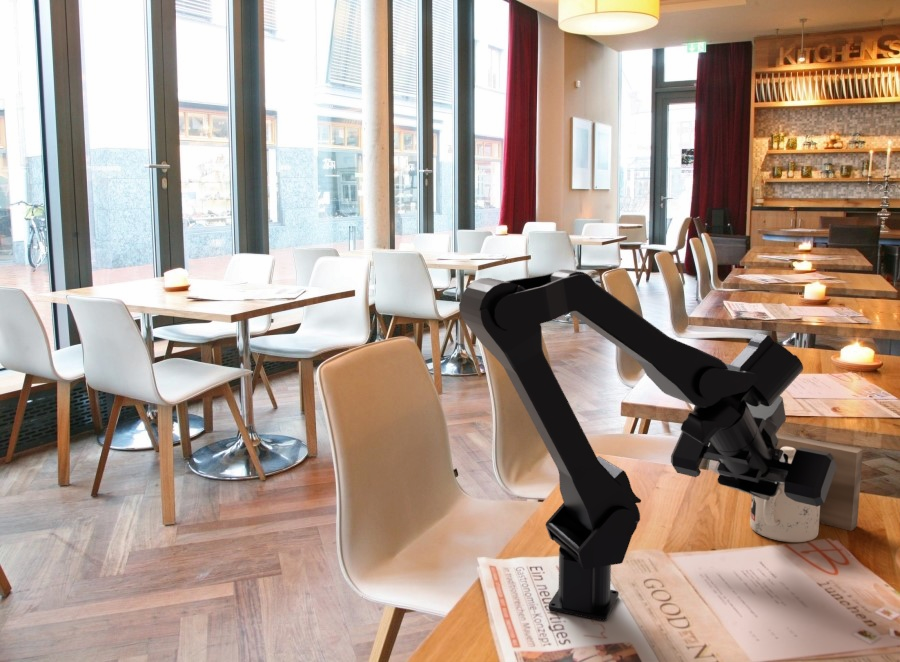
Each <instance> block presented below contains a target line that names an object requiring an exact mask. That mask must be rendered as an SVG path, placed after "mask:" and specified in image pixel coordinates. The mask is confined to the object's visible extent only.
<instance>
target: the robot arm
mask: <svg viewBox="0 0 900 662" xmlns="http://www.w3.org/2000/svg"><path fill="white" fill-rule="evenodd" d="M458 307H459V308H458V309H459V314H460V317H461V318H462V320H463V322H464V323H465V324H466V326H467V327H468V329H469V330H470V331H471V332H472V333H473V335H474V336H475V337H476V338H477V339H478V341H479V342H480V343H481V344H482V345H483V347H484V348H485V349H486V350H487V351H488V352H489V353H490V354H491V355H492V356H493V357H494V358H495V359H496V360H497V361H498V363H500V365H501V366H502V367H503V368H504V371H505V372H506V374H507V376H508V378H509V380H510V382H511V384H512V386H513V387H514V389H515V391H516V393H517V395H518V397H519V399H520V401H521V402H522V404H523V406H524V408H525V410H526V411H527V414H528V416H529V417H530V419H531V421H532V423H533V425H534V427H535V429H536V431H537V432H538V435H539V437H540V439H541V440H542V442H543V444H544V446H545V447H546V449H547V451H548V453H549V455H550V457H551V459H552V461H553V462H554V464H555V467H556V468H557V470H558V474H559V475H558V477H559V479H558V481H559V491H560V494H561V498H562V501H563V503H561V505H560V506H559V508H557V510H555V512H553V514H552V515H551V516H550V517H549V518H548V520H547V521H546V522H545V528H546V531H547V534H548V537H549V538H550V539H551V540H552V541H554V542H555V543H556V544H558V546H559V548H558V589H557V590H556V592H555V594H554V595H553V597H552V598H551V599H550V601H549V603H548V609H549V610H550V611H553V612H559V613H563V614H569V615H573V616H577V617H578V616H579V617H583V618H588V619H594V620H599V621H607V620H608V618H609V616H610V615H611V613H612V611H613V609H614V607H615V604H616V602H617V601H618V599H619V596H620V595H619V591H617V590H615V589H611V585H612V582H611V580H612V578H611V577H612V576H611V574H612V573H611V572H612V566H613V565H622V563H623V562H624V559H625V557H626V554H627V552H628V549H629V545H630V543H631V539H632V537H633V535H634V533H635V532H636V530H637V528H638V524H639V522H640V521H641V513H640V510H639V507H638V505H637V504H641V502H642V499H641V498H640V497H638V496H637V495H636V494H635V492H634V490H633V489H632V486H631V482H630V478H629V476H628V475H627V473H626V471H625V470H624V469H622V468H620V467H618V466H617V465H615V464H613V463H612V462H610V461H608V460H606V459H605V458H603V457H602V456H600V455H598V456H597V455H596V453H595V451H594V449H593V447H592V445H591V443H590V442H589V440H588V437H587V435H586V433H585V432H584V430H583V428H582V426H581V424H580V422H579V419H578V417H577V416H576V414H575V411H574V410H573V408H572V406H571V404H570V402H569V401H568V398H567V396H566V394H565V393H564V391H563V389H562V387H561V385H560V382H559V380H558V379H557V377H556V375H555V373H554V371H553V370H552V367H551V366H550V363H549V361H548V360H547V359H548V358H546V356H545V354H544V353H545V352H544V350H543V349H544V348H543V332H542V330H543V329H542V325H541V324H544V323H548V322H551V321H554V320H555V319H558V318H560V317H562V316H564V315H566V314H568V313H570V314H571V315H572V316H574V317H575V318H576V319H578V320H579V321H580V322H582V323H583V324H585V325H587V326H588V327H589V328H591V329H592V330H593V331H595V332H596V333H597V334H600V336H602V337H604V339H606V340H607V341H608V342H610V343H612V344H613V345H614V346H616V347H617V348H618V349H620V350H621V351H623V352H625V354H628V355H629V356H630V357H632V358H633V359H634V360H635V361H636V362H637V363H638V364H639V365H640V366H641V368H642V369H643V371H644V373H645V374H646V376H647V377H648V378H649V379H650V380H651V381H652V382H653V383H654V384H655V385H656V386H657V388H658V389H659V390H661V392H662V393H663V394H665V395H667V396H669V397H672V398H675V399H677V400H679V401H682V402H685V403H686V404H690V405H693V406H694V407H693V410H692V411H691V412H689V413H688V415H687V417H685V419H684V420H683V422H682V424H681V426H680V431H681V432H680V434H679V437H678V439H677V441H676V444H675V446H674V448H673V451H672V453H671V455H670V463H671V466H672V467H673V469H674V470H675V472H676V473H677V474H681V475H683V476H684V475H685V476H688V477H693V478H696V477H699V476H700V474H701V470H700V466H701V464H702V461H703V459H705V460H710V461H715V462H717V463H716V465H715V467H714V469H713V471H714V473H715V474H718V478H717V483H718V484H719V485H721V486H724V487H727V488H730V489H734V490H736V491H739V492H742V493H744V494H745V493H746V494H748V495H750V496H752V495H753V496H756V497H759V498H761V499H765V500H769V499H770V497H773V496H775V495H776V494H777V491H778V489H779V486H780V483H783V484H784V493H785V495H786V496H787V497H788V498H790V499H792V500H794V501H796V502H800V503H805V504H809V505H813V506H817V507H818V506H820V505H822V504H824V502H825V499H826V496H827V493H828V490H829V487H830V485H831V482H832V479H833V476H834V473H835V470H836V467H837V465H836V462H835V460H834V458H833V457H832V455H831V453H829V452H823V451H818V450H813V449H808V448H803V447H800V448H798V449H797V450H796V452H795V455H794V458H793V460H792V463H791V464H790V463H788V455H787V454H785V453H784V452H783V450H780V449H776V447H777V444H778V439H777V437H776V433H778V432H779V430H780V428H781V427H782V425H783V424H784V423H785V422H786V420H787V416H786V411H785V404H784V399H783V396H781V395H782V394H783V393H784V392H785V390H787V388H788V387H789V386H790V385H791V384H792V383H793V382H794V381H795V379H797V378H798V376H799V375H800V374H801V373H802V372H803V370H804V364H803V363H802V360H800V358H799V357H798V355H795V354H793V353H792V352H791V351H790V350H789V349H787V348H786V347H784V346H783V345H781V344H780V343H779V342H776V341H775V340H774V339H773V338H772V337H771V335H769V334H764V333H761V332H760V333H759V332H756V334H755V335H753V337H751V339H750V340H749V341H748V343H747V345H746V347H744V348H743V350H741V352H740V353H739V354H738V355H736V357H735V358H734V359H733V360H732V362H731V363H730V364H729V363H726V362H724V361H723V360H722V359H720V358H718V357H717V356H714V355H712V354H709V353H707V351H703V350H701V349H699V348H696V347H693V346H692V345H688V344H686V343H684V342H682V341H679V340H677V339H675V338H672V337H670V336H668V335H667V334H666V333H664V332H663V331H662V330H660V329H659V328H657V327H656V326H655V325H654V324H653V323H651V322H650V321H648V320H647V319H646V318H644V317H643V316H641V315H640V314H639V313H637V312H636V311H635V310H634V309H631V308H630V307H629V306H627V305H626V304H625V303H623V301H621V300H619V299H618V298H617V297H615V296H614V295H613V294H611V293H610V292H609V291H607V290H606V289H605V288H603V287H602V286H601V285H600V284H597V283H596V282H595V281H594V279H593V278H592V276H590V274H588V273H586V272H584V271H578V270H570V269H558V270H557V271H555V272H551V273H550V272H549V273H547V274H540V275H535V276H529V277H528V276H527V277H523V278H516V279H515V278H514V279H510V280H505V281H504V280H501V279H496V278H492V277H484V278H478V279H476V280H474V281H472V282H471V283H469V285H468V286H467V287H466V288H465V290H464V291H463V293H462V294H461V298H460V302H459V304H458ZM784 476H785V477H784Z"/></svg>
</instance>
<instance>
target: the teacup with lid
mask: <svg viewBox="0 0 900 662" xmlns="http://www.w3.org/2000/svg"><path fill="white" fill-rule="evenodd" d="M780 450H783V452H784V453H785V454H787V455H788V463H790V464H791V463H792V460H793V458H794V455H795V452H796V449H795V448H792V447H782V448H781V449H780ZM784 477H785V476H784ZM750 497H751V499H750V500H751V501H750V518H749V519H750V521H749V525H750V528H751V529H752V530H753V532H755V533H757V534H759V535H760V536H763V537H764V538H767V539H771V540H774V541H779V542H785V543H806V542H810V541H812V540H815V539H816V538H817V537H818V535H819V532H820V531H819V526H820V523H819V516H820V506H818V507H817V506H813V505H809V504H805V503H800V502H796V501H794V500H792V499H790V498H788V497H787V496H786V495H785V493H784V484H783V483H780V486H779V489H778V491H777V494H776V495H775V496H773V497H770V499H769V500H765V499H761V498H759V497H756V496H753V495H751V496H750Z"/></svg>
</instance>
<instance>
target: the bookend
mask: <svg viewBox="0 0 900 662" xmlns="http://www.w3.org/2000/svg"><path fill="white" fill-rule="evenodd" d="M776 437H777V439H778V444H777V447H776V449H781V448H782V447H792V448H795V449H796V450H797V449H798V448H800V447H803V448H808V449H813V450H818V451H823V452H829V453H831V455H832V457H833V458H834V460H835V462H836V465H837V467H836V470H835V473H834V476H833V479H832V482H831V485H830V487H829V490H828V493H827V496H826V499H825V502H824V504H822V505H820V516H819V524H822V525H827V526H830V527H834V528H837V529H843V530H846V531H850V532H852V531H853V530H854V529H856V528H857V527H858V521H859V520H858V519H859V504H860V495H861V493H860V492H861V491H860V490H861V480H862V479H861V477H862V465H863V453H864V452H863V451H864V449H863V448H859V447H853V446H849V445H848V446H847V445H841V444H838V443H832V442H826V441H821V440H816V439H810V438H806V437H805V438H804V437H801V436H795V435H789V434H783V433H779V432H777V433H776Z"/></svg>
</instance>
